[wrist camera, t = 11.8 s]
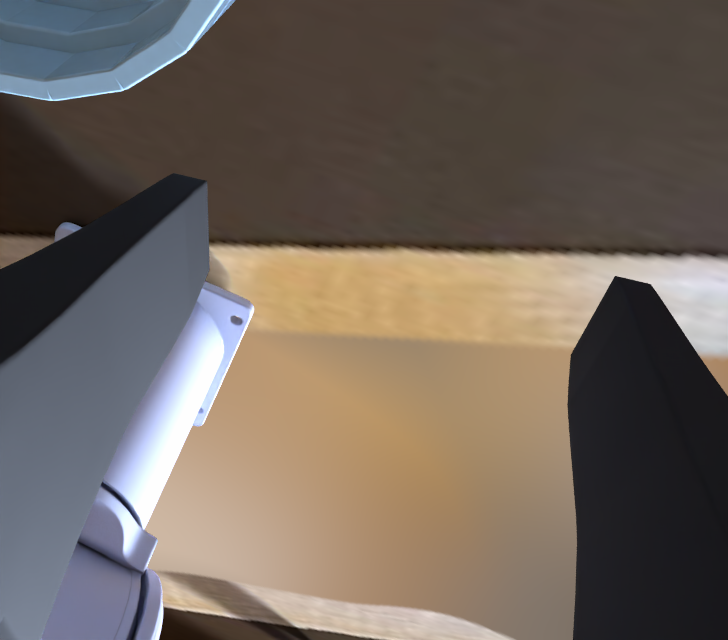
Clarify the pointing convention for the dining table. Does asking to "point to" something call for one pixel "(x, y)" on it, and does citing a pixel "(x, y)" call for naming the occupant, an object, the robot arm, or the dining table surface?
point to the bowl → (95, 43)
